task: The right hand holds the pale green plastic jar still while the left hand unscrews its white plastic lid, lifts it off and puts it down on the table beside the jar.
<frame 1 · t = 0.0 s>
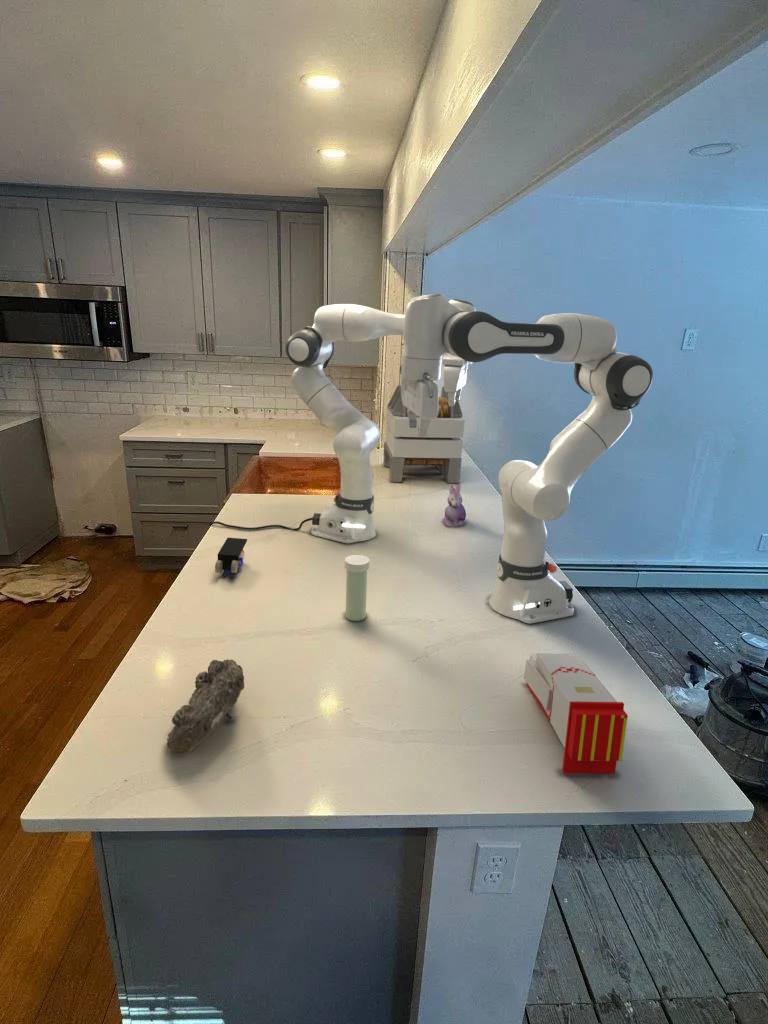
left hand: (454, 403, 174), 48 cm above the counter, tool pointing down, fingers open, 8 cm apart
right hand: (417, 431, 132), 48 cm above the counter, tool pointing down, fingers open, 8 cm apart
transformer: (419, 473, 275), on the counter
figurine: (454, 523, 212), on the counter
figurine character: (232, 569, 168), on the counter
lid: (357, 561, 141), point 15 cm above the counter, screwed on, not yet turned
toy: (562, 720, 111), on the counter
jar: (355, 615, 146), on the counter
fossil: (212, 717, 108), on the counter
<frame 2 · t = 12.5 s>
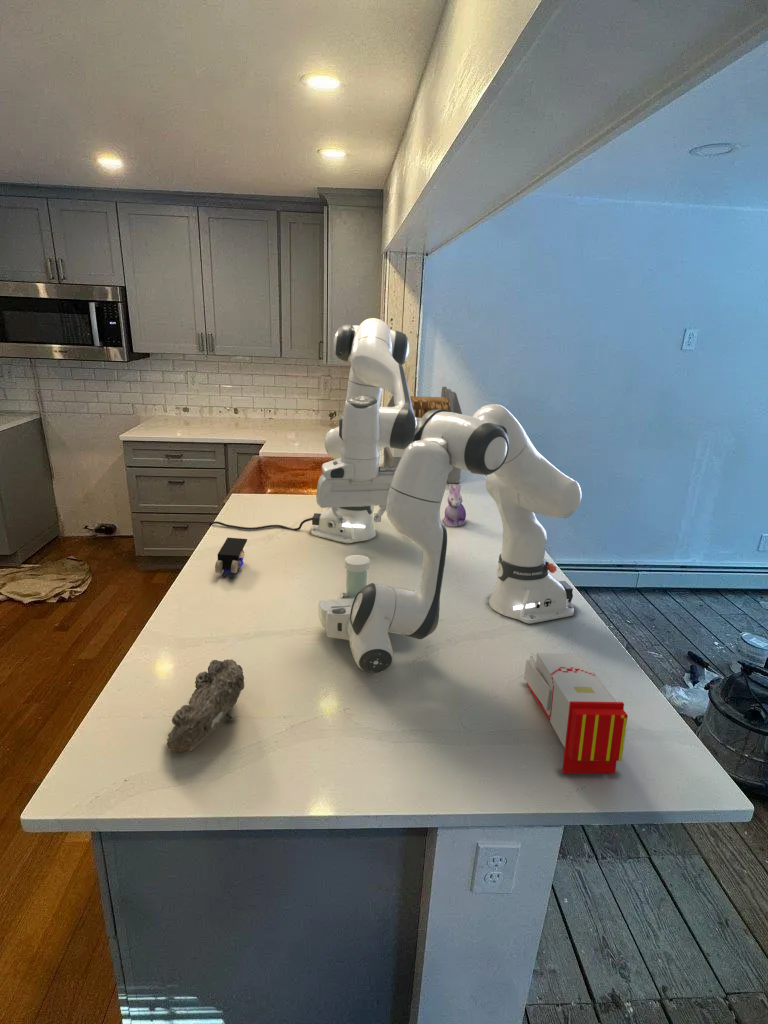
left hand: (358, 522, 137), 26 cm above the counter, tool pointing down, fingers open, 8 cm apart
right hand: (355, 594, 145), 6 cm above the counter, tool horizontal, fingers closed on jar, 5 cm apart
jar: (355, 615, 146), on the counter, touching right hand
everything else where it was.
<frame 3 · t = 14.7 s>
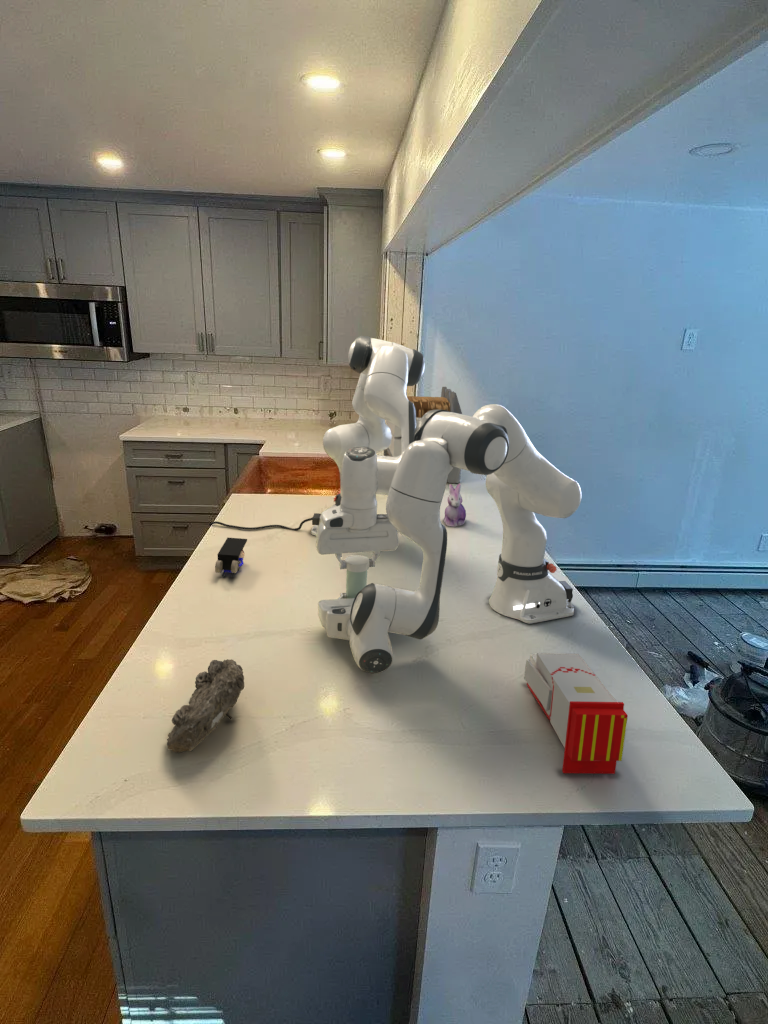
left hand: (356, 567, 141), 14 cm above the counter, tool pointing down, fingers closed on lid, 6 cm apart
right hand: (355, 594, 145), 6 cm above the counter, tool horizontal, fingers closed on jar, 5 cm apart
lid: (357, 561, 141), point 15 cm above the counter, screwed on, not yet turned, touching left hand
jar: (355, 615, 146), on the counter, touching right hand
everything else where it was.
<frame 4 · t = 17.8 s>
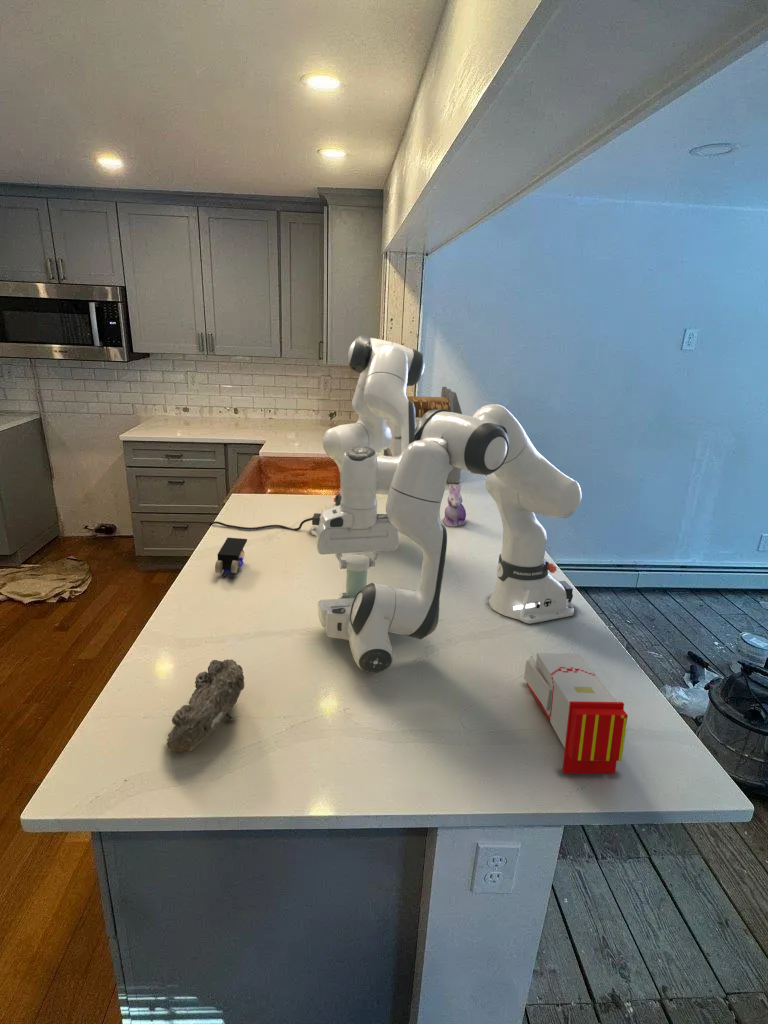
left hand: (356, 567, 141), 14 cm above the counter, tool pointing down, fingers closed on lid, 6 cm apart
right hand: (355, 594, 145), 6 cm above the counter, tool horizontal, fingers closed on jar, 5 cm apart
lid: (357, 560, 141), point 16 cm above the counter, turned 83° so far, risen 0.1 cm, still on its thread, touching left hand
jar: (355, 615, 146), on the counter, touching right hand
everything else where it was.
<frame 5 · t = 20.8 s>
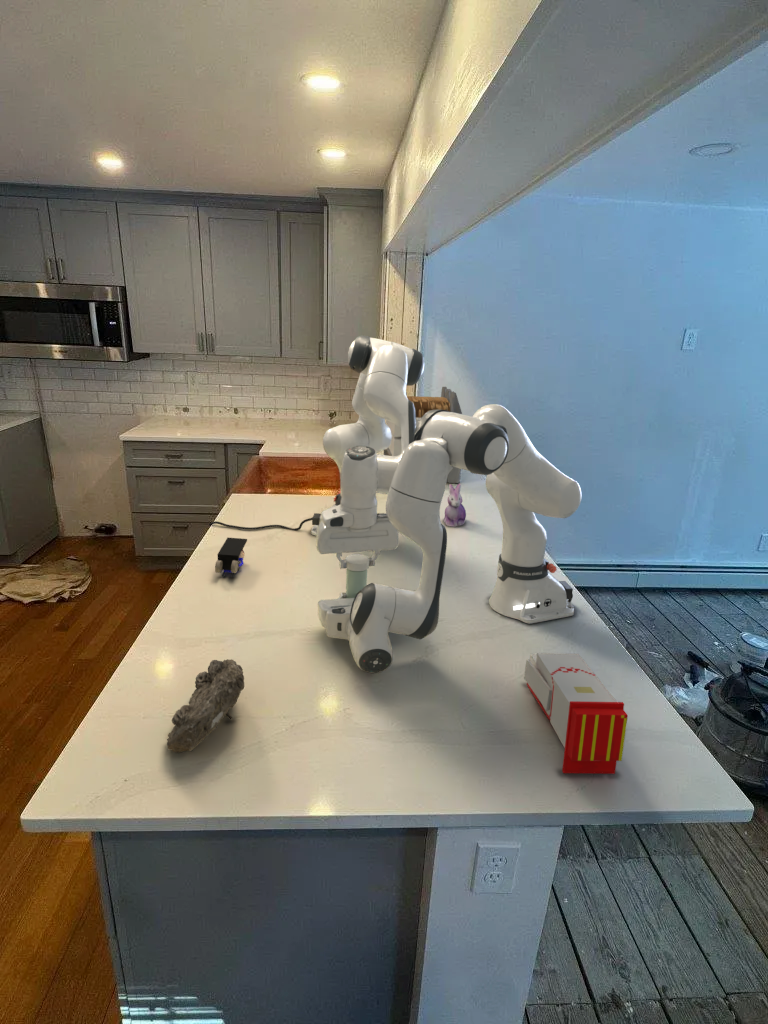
left hand: (356, 566, 141), 14 cm above the counter, tool pointing down, fingers closed on lid, 6 cm apart
right hand: (355, 594, 145), 6 cm above the counter, tool horizontal, fingers closed on jar, 5 cm apart
lid: (357, 560, 140), point 16 cm above the counter, turned 167° so far, risen 0.2 cm, still on its thread, touching left hand
jar: (355, 615, 146), on the counter, touching right hand
everything else where it was.
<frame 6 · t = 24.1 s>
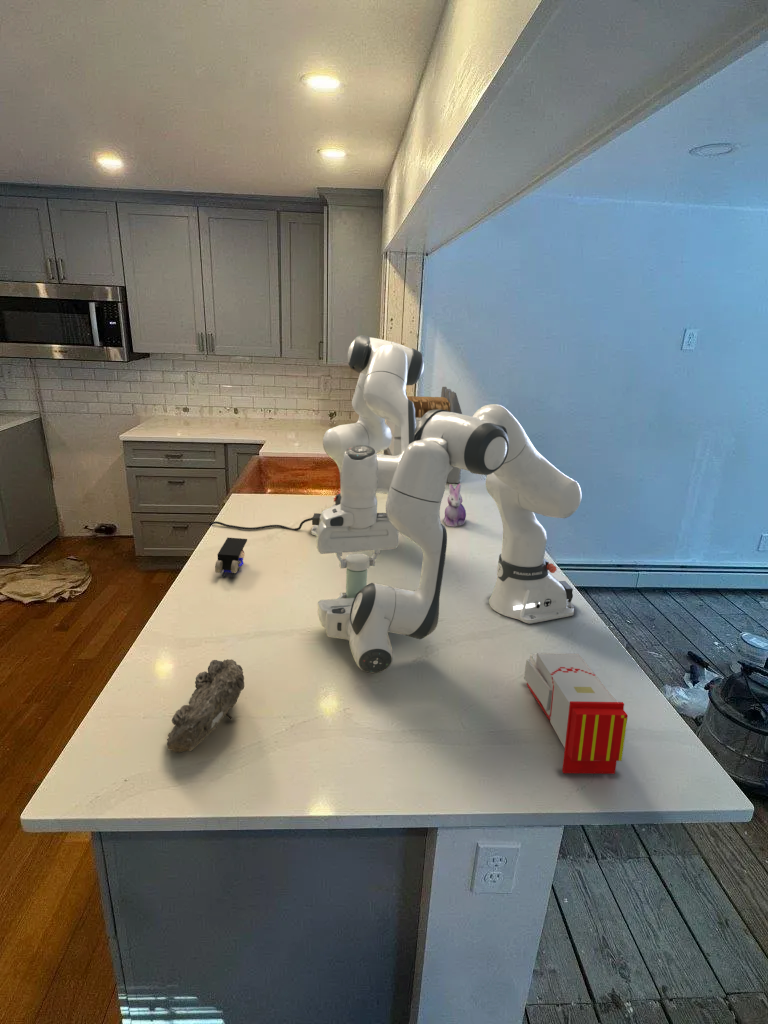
left hand: (356, 566, 141), 14 cm above the counter, tool pointing down, fingers closed on lid, 6 cm apart
right hand: (355, 594, 145), 6 cm above the counter, tool horizontal, fingers closed on jar, 5 cm apart
lid: (357, 559, 140), point 16 cm above the counter, turned 250° so far, risen 0.4 cm, still on its thread, touching left hand
jar: (355, 615, 146), on the counter, touching right hand
everything else where it was.
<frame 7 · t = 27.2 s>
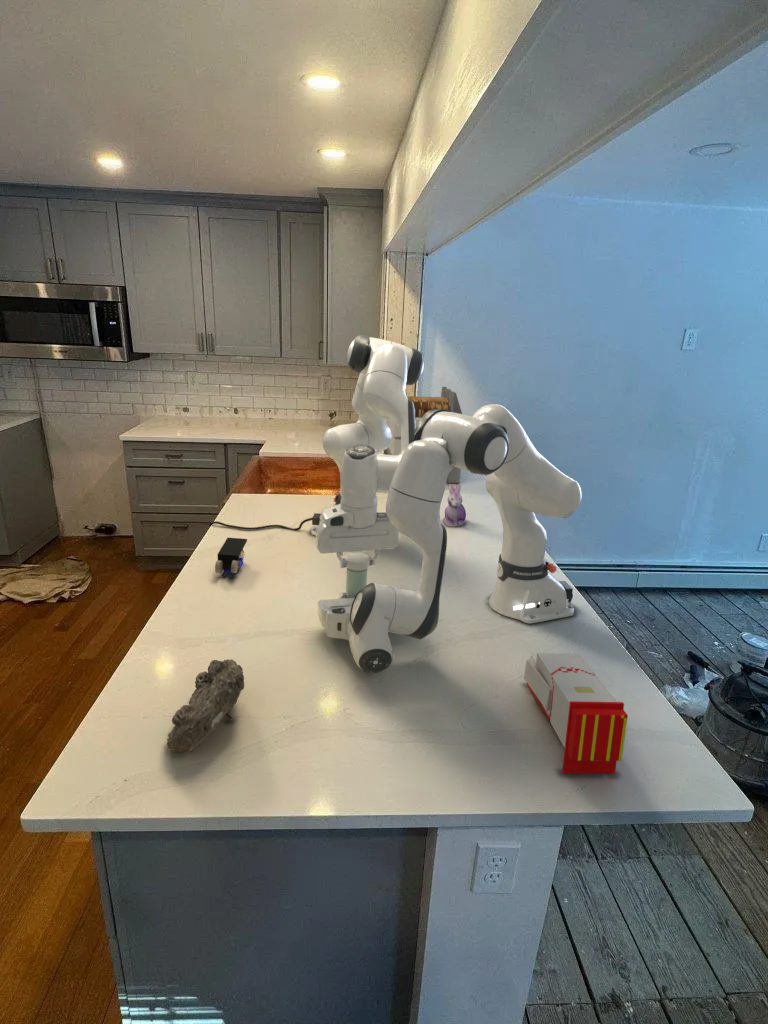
left hand: (357, 565, 141), 14 cm above the counter, tool pointing down, fingers closed on lid, 6 cm apart
right hand: (355, 594, 145), 6 cm above the counter, tool horizontal, fingers closed on jar, 5 cm apart
lid: (357, 559, 140), point 16 cm above the counter, turned 332° so far, risen 0.5 cm, still on its thread, touching left hand
jar: (355, 615, 146), on the counter, touching right hand
everything else where it was.
when the left hand's fingers open (2 cm above the counter, at t = 33.2 s): lid drops 2 cm, point 2 cm above the counter.
when the right hand's fingers open (6 cm above the counter, at t = 34.2 s): jar stays where it is, on the counter.
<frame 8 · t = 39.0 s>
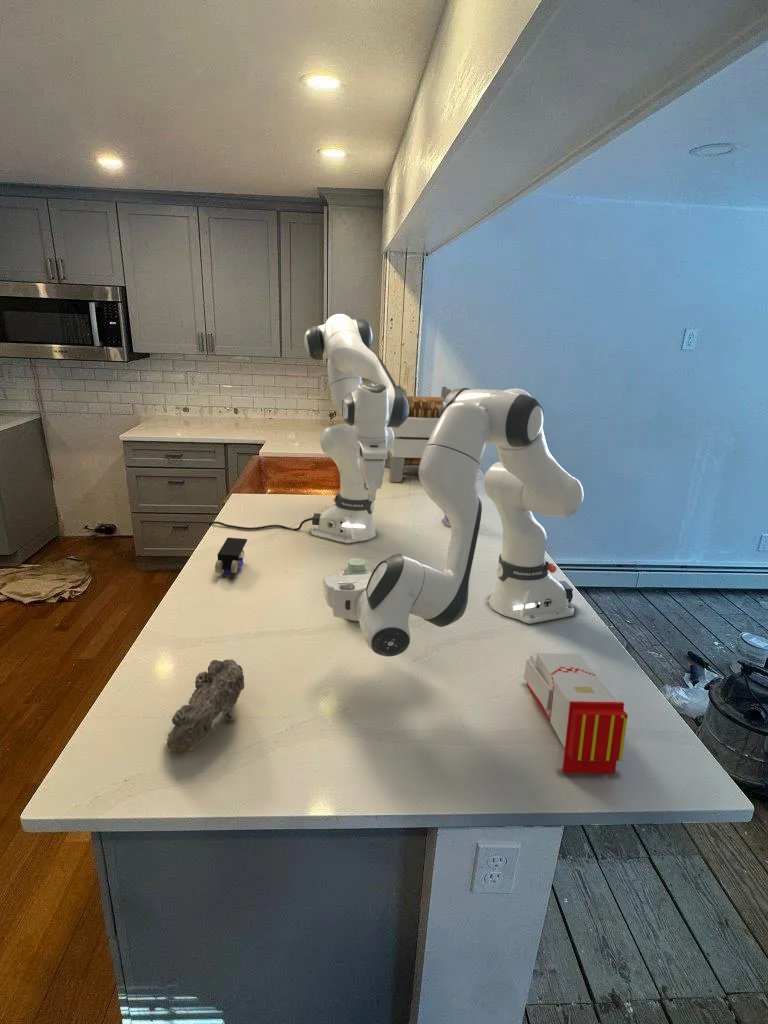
left hand: (369, 494, 155), 26 cm above the counter, tool pointing down, fingers open, 8 cm apart
right hand: (364, 571, 129), 18 cm above the counter, tool horizontal, fingers open, 8 cm apart
lid: (366, 577, 163), point 2 cm above the counter, off its thread
jar: (355, 615, 146), on the counter
everything else where it was.
at the end: lid came off its thread; lid point 1.7 cm above the counter; the left hand is holding nothing; the right hand is holding nothing; jar tilted 0°; jar moved 0.2 cm from its start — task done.
